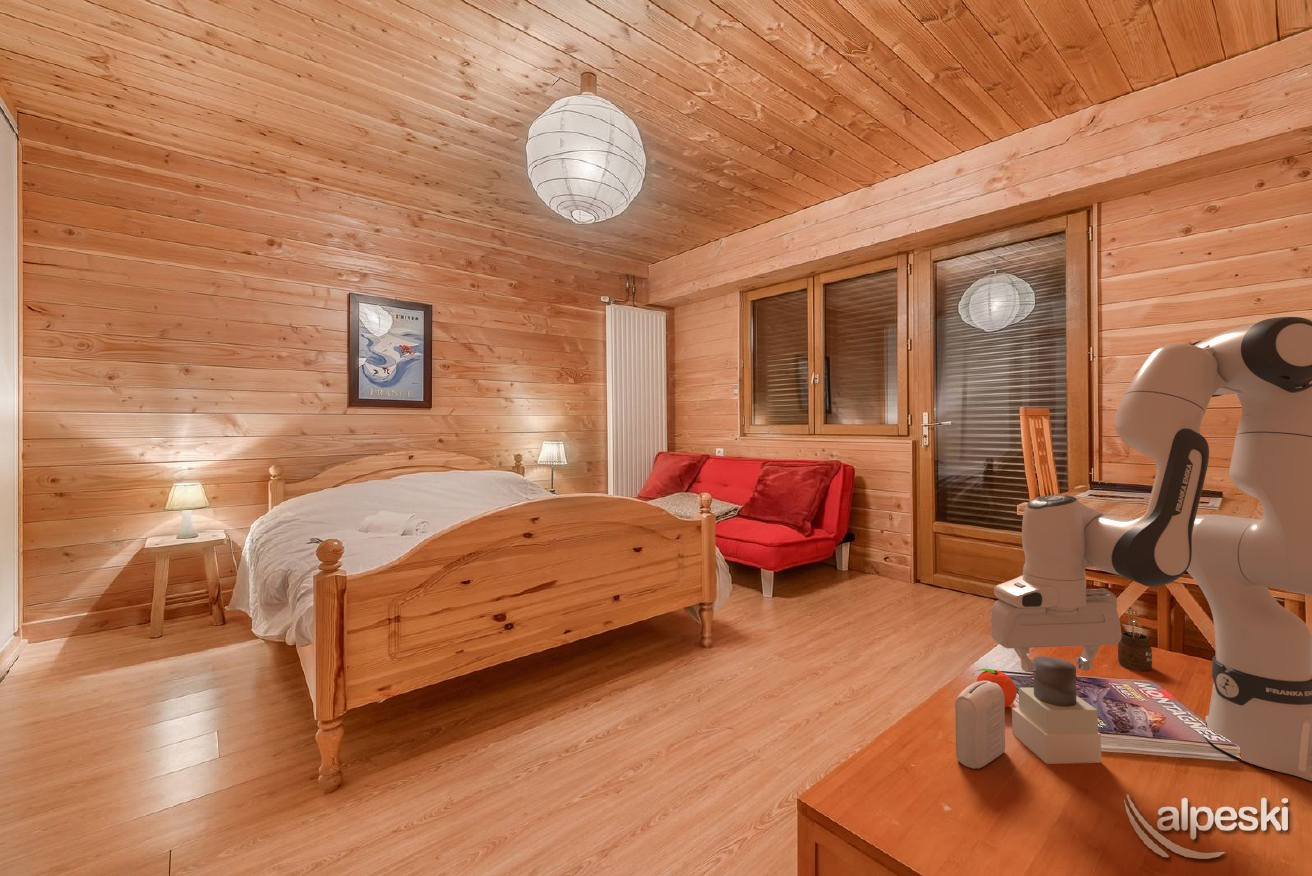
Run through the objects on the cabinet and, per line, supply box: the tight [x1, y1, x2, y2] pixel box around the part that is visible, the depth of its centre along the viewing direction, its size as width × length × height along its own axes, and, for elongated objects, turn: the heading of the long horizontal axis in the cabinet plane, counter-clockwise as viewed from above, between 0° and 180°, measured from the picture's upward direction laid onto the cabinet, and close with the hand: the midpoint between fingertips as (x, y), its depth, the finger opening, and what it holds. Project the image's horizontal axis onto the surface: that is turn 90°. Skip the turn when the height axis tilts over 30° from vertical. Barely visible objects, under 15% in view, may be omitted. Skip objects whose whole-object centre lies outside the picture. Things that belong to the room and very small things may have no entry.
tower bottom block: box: [1011, 707, 1102, 765], centre depth 97 cm, size 9×9×5 cm
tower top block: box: [1018, 687, 1099, 734], centre depth 96 cm, size 8×8×4 cm
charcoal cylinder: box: [1032, 656, 1077, 707], centre depth 96 cm, size 6×6×6 cm
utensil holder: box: [1117, 608, 1153, 672], centre depth 127 cm, size 6×6×12 cm
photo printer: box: [954, 681, 1006, 770], centre depth 95 cm, size 10×4×12 cm, turn 123°
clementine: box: [972, 668, 1018, 708], centre depth 112 cm, size 8×7×7 cm
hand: (1056, 669), depth 96 cm, fingers open, 8 cm apart
